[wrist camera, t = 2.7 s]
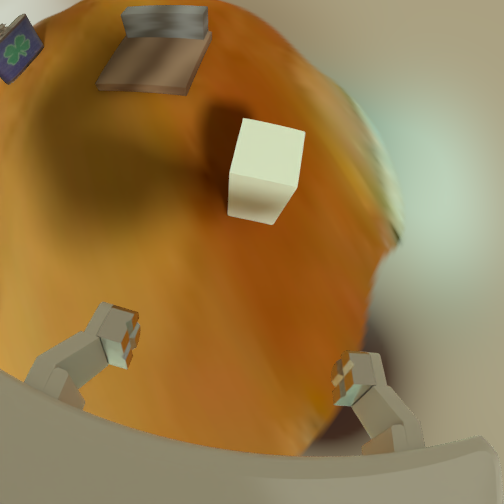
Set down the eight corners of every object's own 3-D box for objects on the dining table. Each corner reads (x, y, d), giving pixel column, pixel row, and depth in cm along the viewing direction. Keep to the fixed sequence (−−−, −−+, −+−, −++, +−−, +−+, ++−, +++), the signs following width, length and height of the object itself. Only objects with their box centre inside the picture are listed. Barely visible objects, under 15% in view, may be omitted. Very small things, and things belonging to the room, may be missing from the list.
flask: (40, 44, 30) (17, 6, 19) (48, 45, 30) (25, 5, 19) (4, 84, 28) (-25, 48, 18) (11, 86, 28) (-20, 49, 18)
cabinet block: (227, 215, 28) (229, 172, 18) (236, 174, 29) (243, 117, 19) (272, 224, 28) (297, 187, 19) (280, 183, 29) (305, 131, 19)
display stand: (98, 90, 29) (83, 60, 23) (132, 36, 31) (124, 7, 25) (186, 95, 30) (181, 61, 24) (211, 39, 32) (211, 6, 26)
